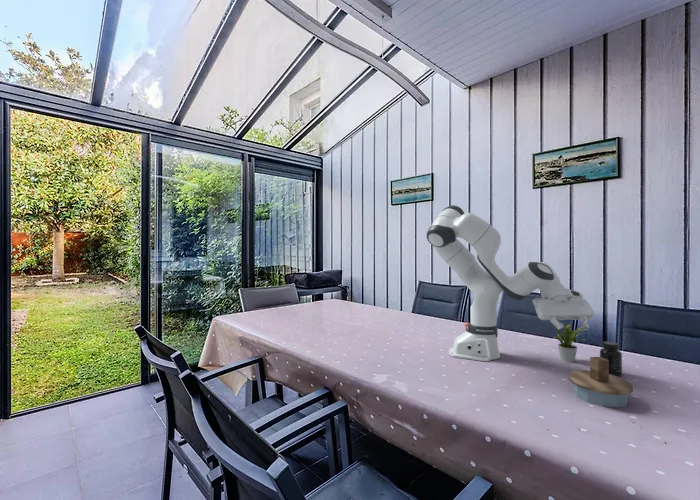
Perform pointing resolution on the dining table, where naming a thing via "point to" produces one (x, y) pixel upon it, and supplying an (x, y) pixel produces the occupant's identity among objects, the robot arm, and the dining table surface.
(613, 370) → the supplement bottle
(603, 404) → the slate bowl
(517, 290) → the robot arm
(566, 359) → the house plant
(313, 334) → the dining table surface
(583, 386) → the walnut lid
